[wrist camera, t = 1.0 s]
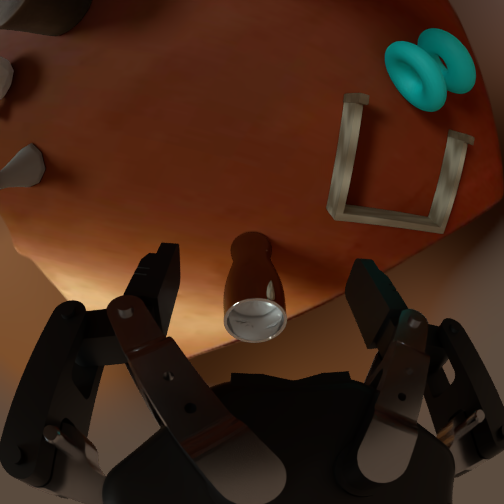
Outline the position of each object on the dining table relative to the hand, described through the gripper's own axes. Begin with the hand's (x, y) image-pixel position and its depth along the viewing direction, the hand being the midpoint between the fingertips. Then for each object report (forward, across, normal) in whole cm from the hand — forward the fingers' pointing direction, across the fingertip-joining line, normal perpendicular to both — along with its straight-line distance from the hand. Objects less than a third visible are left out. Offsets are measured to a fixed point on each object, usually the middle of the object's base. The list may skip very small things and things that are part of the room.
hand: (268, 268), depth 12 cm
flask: (+26, +36, +1) cm, 44 cm away
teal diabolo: (+26, -21, -18) cm, 37 cm away
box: (+25, -21, -2) cm, 33 cm away
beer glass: (+25, -2, +14) cm, 29 cm away
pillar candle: (+26, +30, -24) cm, 47 cm away
